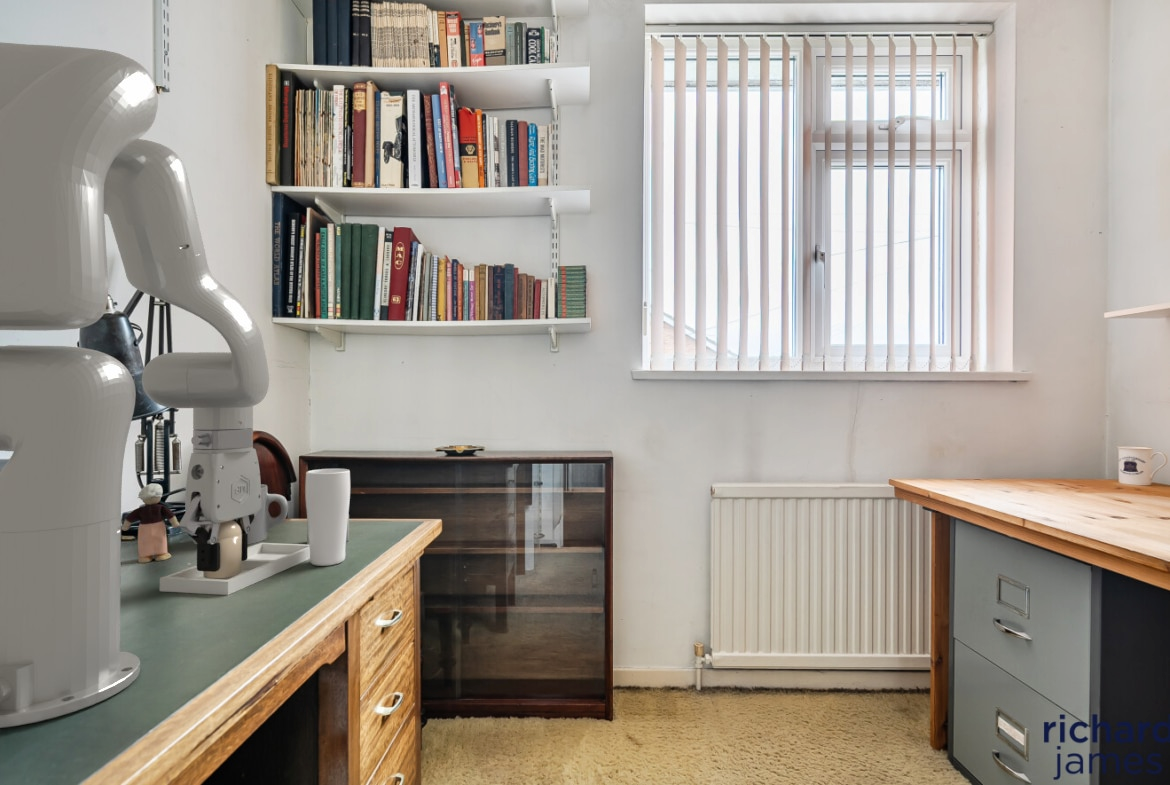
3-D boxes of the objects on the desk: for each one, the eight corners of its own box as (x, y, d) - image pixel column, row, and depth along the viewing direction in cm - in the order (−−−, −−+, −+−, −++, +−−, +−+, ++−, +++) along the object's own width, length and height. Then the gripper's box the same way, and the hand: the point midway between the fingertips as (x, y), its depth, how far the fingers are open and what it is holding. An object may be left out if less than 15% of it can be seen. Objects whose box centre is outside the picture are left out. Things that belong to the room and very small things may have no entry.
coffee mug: (197, 548, 105) (198, 492, 105) (216, 536, 114) (217, 484, 115) (280, 543, 108) (280, 489, 109) (291, 532, 118) (292, 482, 118)
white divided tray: (228, 594, 80) (228, 581, 80) (159, 591, 82) (159, 578, 82) (317, 555, 100) (317, 544, 100) (261, 553, 102) (261, 542, 102)
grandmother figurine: (177, 553, 101) (177, 480, 102) (179, 558, 99) (180, 482, 99) (120, 561, 96) (121, 484, 97) (121, 566, 94) (122, 487, 94)
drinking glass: (339, 568, 93) (339, 473, 93) (296, 568, 93) (297, 473, 93) (356, 556, 99) (357, 468, 100) (317, 556, 100) (317, 468, 100)
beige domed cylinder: (225, 579, 84) (225, 523, 84) (195, 577, 84) (195, 522, 84) (249, 569, 88) (249, 516, 88) (220, 568, 89) (220, 515, 89)
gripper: (200, 446, 77) (199, 584, 77) (284, 437, 94) (284, 551, 94) (150, 445, 79) (149, 582, 78) (242, 437, 95) (241, 549, 95)
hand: (222, 563), depth 86 cm, fingers closed on beige domed cylinder, 4 cm apart
